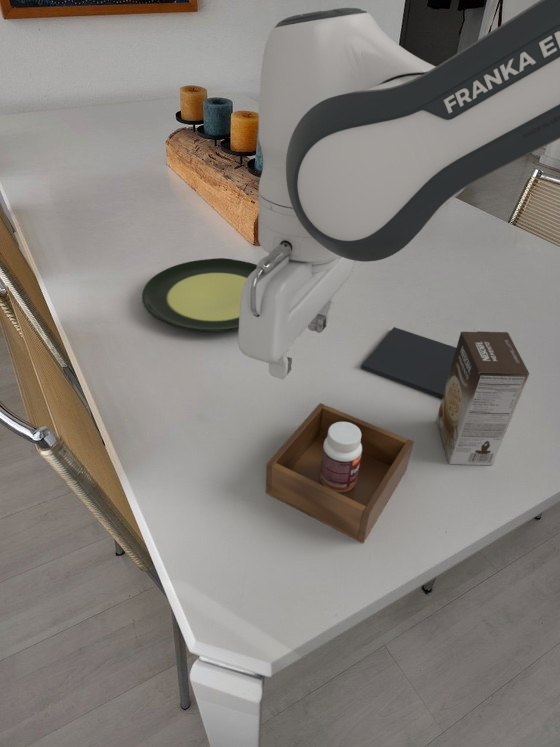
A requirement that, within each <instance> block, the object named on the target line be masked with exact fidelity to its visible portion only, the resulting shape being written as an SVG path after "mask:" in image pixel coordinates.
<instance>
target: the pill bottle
mask: <svg viewBox="0 0 560 747" xmlns="http://www.w3.org/2000/svg"><path fill="white" fill-rule="evenodd" d="M360 442H361V431H360V429H359V428H358V427H357V426H356V425H354V424H352V423H349V422H337V423H334V424H332V425H331V426H330V428H329V430H328V436H327V438H326V439H325V441H324V445H323V455H322V464H321V472H320V479H321V482H322V484H323V485H324V486H325V487H327V488H329V489H331V490H333V491H335V492H339V493H342V492H347V491H349V490H351V489H352V488H353V487H354V486H355V484H356V481H357V476H358V471H359V465H360V459H361V453H362V445H361V443H360Z"/></svg>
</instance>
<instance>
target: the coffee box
mask: <svg viewBox="0 0 560 747" xmlns="http://www.w3.org/2000/svg"><path fill="white" fill-rule="evenodd" d="M529 376H530V371H529V369H528V367H527V366H526V364H525V362H524V360H523V358H522V357H521V355H520V352H519V351H518V349H517V347H516V345H515V343H514V341H513V339H512V337H511V335H510V333H509V332H507V331H460V334H459V338H458V340H457V345H456V351H455V355H454V358H453V362H452V365H451V369H450V372H449V376H448V379H447V383H446V387H445V390H444V394H443V398H441V400H440V405H439V408H438V411H437V414H436V415H437V416H436V419H435V421H436V424H437V429H438V432H439V434H440V439H441V441H442V445H443V449H444V452H445V456H446V459H447V462H448V464H449V465H462V466H463V465H467V466H468V465H469V466H493V465H494V462H495V460H496V458H497V455H498V452H499V450H500V448H501V446H502V443H503V440H504V438H505V435H506V432H507V430H508V428H509V425H510V423H511V421H512V418H513V415H514V412H515V410H516V409H517V405H518V403H519V401H520V398H521V396H522V393H523V391H524V388H525V385H526V383H527V381H528V379H529Z"/></svg>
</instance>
